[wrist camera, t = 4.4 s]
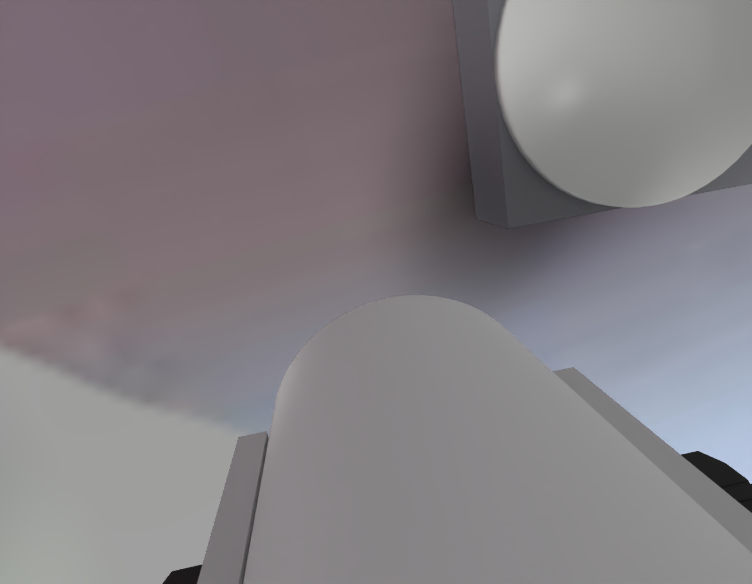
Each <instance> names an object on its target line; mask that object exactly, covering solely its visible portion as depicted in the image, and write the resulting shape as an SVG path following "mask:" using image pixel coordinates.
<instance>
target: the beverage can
mask: <svg viewBox="0 0 752 584" xmlns="http://www.w3.org/2000/svg"><path fill="white" fill-rule="evenodd" d="M243 584H752V553H751V552H750V551H749V550H748V549H747V548H746V547H745V546H744V545H742V544H741V543H740V542H739V541H738V540H737V539H736V538H735V537H734V536H733V535H731V534H730V533H729V532H728V531H727V530H726V529H725V528H724V527H723V526H722V525H720V524H719V523H718V522H717V521H716V520H715V519H714V518H713V517H712V516H711V515H709V514H708V513H707V512H706V511H705V510H704V509H703V508H702V507H701V506H700V505H699V504H697V503H696V502H695V501H694V500H693V499H692V498H691V497H690V496H689V495H688V494H686V493H685V492H684V491H683V490H682V489H681V488H680V487H679V486H678V485H677V484H675V483H674V482H673V481H672V480H671V479H670V478H669V477H668V476H667V475H666V474H664V473H663V472H662V471H661V470H660V469H659V468H658V467H657V466H656V465H655V464H654V463H652V462H651V461H650V460H649V459H648V458H647V457H646V456H645V455H644V454H643V453H641V452H640V451H639V450H638V449H637V448H636V447H635V446H634V445H633V444H632V443H630V442H629V441H628V440H627V439H626V438H625V437H624V436H623V435H622V434H621V433H619V432H618V431H617V430H616V429H615V428H614V427H613V426H612V425H611V424H610V423H609V422H607V421H606V420H605V419H604V418H603V417H602V416H601V415H600V414H599V413H598V412H596V411H595V410H594V409H593V408H592V407H591V406H590V405H589V404H588V403H587V402H585V401H584V400H583V399H582V398H581V397H580V396H579V395H578V394H577V393H576V392H575V391H573V390H572V389H571V388H570V387H569V386H568V385H567V384H566V383H565V382H564V381H562V380H561V379H560V378H559V377H558V376H557V375H556V374H555V373H554V372H553V371H551V370H550V369H549V368H548V367H547V366H546V365H545V364H544V363H543V362H542V361H540V360H539V359H538V358H537V357H536V356H535V355H534V354H533V353H532V352H531V351H530V350H528V349H527V348H526V347H525V346H524V345H523V344H522V343H521V342H520V341H519V340H517V339H516V338H515V337H514V336H513V335H512V334H511V333H510V332H509V331H508V330H506V329H505V328H504V327H503V326H502V325H501V324H499V323H498V322H497V321H496V320H494V319H493V318H491V317H490V316H489V315H487V314H485V313H484V312H482V311H480V310H478V309H476V308H474V307H472V306H470V305H467V304H465V303H462V302H459V301H456V300H452V299H448V298H443V297H437V296H428V295H405V296H396V297H390V298H385V299H381V300H377V301H374V302H370V303H367V304H365V305H362V306H360V307H357V308H355V309H353V310H351V311H349V312H347V313H345V314H343V315H341V316H339V317H338V318H336V319H335V320H333V321H332V322H330V323H329V324H327V325H326V326H325V327H323V328H322V329H321V330H320V331H319V332H317V333H316V334H315V335H314V336H313V337H312V338H311V339H310V340H309V341H308V342H307V343H306V344H305V345H304V347H303V348H302V349H301V350H300V351H299V353H298V354H297V355H296V357H295V358H294V360H293V361H292V363H291V364H290V366H289V368H288V370H287V372H286V374H285V376H284V378H283V380H282V382H281V385H280V388H279V391H278V394H277V398H276V402H275V406H274V412H273V417H272V423H271V429H270V434H269V440H268V445H267V451H266V457H265V462H264V468H263V474H262V479H261V485H260V491H259V496H258V502H257V508H256V513H255V519H254V525H253V530H252V536H251V542H250V547H249V553H248V559H247V564H246V570H245V576H244V581H243Z"/></svg>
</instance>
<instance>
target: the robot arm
mask: <svg viewBox="0 0 752 584" xmlns="http://www.w3.org/2000/svg"><path fill="white" fill-rule="evenodd" d="M553 372H554V373H555V374H556V375H557V376H558V377H559V378H560V379H561V380H562V381H564V382H565V383H566V384H567V385H568V386H569V387H570V388H571V389H572V390H573V391H575V392H576V393H577V394H578V395H579V396H580V397H581V398H582V399H583V400H584V401H585V402H587V403H588V404H589V405H590V406H591V407H592V408H593V409H594V410H595V411H596V412H598V413H599V414H600V415H601V416H602V417H603V418H604V419H605V420H606V421H607V422H609V423H610V424H611V425H612V426H613V427H614V428H615V429H616V430H617V431H618V432H619V433H621V434H622V435H623V436H624V437H625V438H626V439H627V440H628V441H629V442H630V443H632V444H633V445H634V446H635V447H636V448H637V449H638V450H639V451H640V452H641V453H643V454H644V455H645V456H646V457H647V458H648V459H649V460H650V461H651V462H652V463H654V464H655V465H656V466H657V467H658V468H659V469H660V470H661V471H662V472H663V473H664V474H666V475H667V476H668V477H669V478H670V479H671V480H672V481H673V482H674V483H675V484H677V485H678V486H679V487H680V488H681V489H682V490H683V491H684V492H685V493H686V494H688V495H689V496H690V497H691V498H692V499H693V500H694V501H695V502H696V503H697V504H699V505H700V506H701V507H702V508H703V509H704V510H705V511H706V512H707V513H708V514H709V515H711V516H712V517H713V518H714V519H715V520H716V521H717V522H718V523H719V524H720V525H722V526H723V527H724V528H725V529H726V530H727V531H728V532H729V533H730V534H731V535H733V536H734V537H735V538H736V539H737V540H738V541H739V542H740V543H741V544H742V545H744V546H745V547H746V548H747V549H748V550H749V551H750V552H751V553H752V484H750V483H749V481H748V480H747V479H746V478H745V477H743V476H742V475H741V474H739V473H738V472H737V471H735V470H734V469H733V468H731V467H730V466H729V465H727V464H726V463H724V462H722V461H719V460H717V459H715V458H713V457H710V456H708V455H706V454H704V453H701V452H699V451H696V452H691V453H687V454H682V455H680V454H679V453H678V452H676V451H675V450H674V449H673V448H672V447H670V446H669V445H668V444H667V443H665V442H664V441H663V440H662V439H661V438H659V437H658V436H657V435H656V434H654V433H653V432H652V431H651V430H650V429H648V428H647V427H646V426H645V425H643V424H642V423H641V422H640V421H639V420H637V419H636V418H635V417H634V416H632V415H631V414H630V413H629V412H628V411H626V410H625V409H624V408H623V407H621V406H620V405H619V404H618V403H617V402H615V401H614V400H613V399H612V398H610V397H609V396H608V395H607V394H606V393H604V392H603V391H602V390H601V389H599V388H598V387H597V386H596V385H595V384H593V383H592V382H591V381H590V380H588V379H587V378H586V377H585V376H584V375H582V374H581V373H580V372H579V371H577V370H576V369H575V368H574V367H572V368H567V369H563V370H558V371H553ZM268 440H269V438H268V434H267V431H266V432H261V433H256V434H252V435H247V436H242V437H239V438H238V441H237V445H236V448H235V452H234V455H233V459H232V463H231V466H230V469H229V473H228V476H227V480H226V483H225V487H224V491H223V494H222V498H221V501H220V505H219V508H218V512H217V515H216V519H215V522H214V526H213V529H212V533H211V536H210V540H209V543H208V547H207V551H206V554H205V557H204V561H203V564H202V565H198V566H194V567H189V568H185V569H180V570H176V571H172V572H171V573H170V575H169V576H168V577H167V579H166V580H165V581H164V583H163V584H243V581H244V576H245V570H246V564H247V559H248V553H249V547H250V542H251V536H252V530H253V525H254V519H255V513H256V508H257V502H258V496H259V491H260V485H261V479H262V474H263V468H264V462H265V457H266V451H267V445H268Z"/></svg>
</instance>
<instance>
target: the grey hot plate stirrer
mask: <svg viewBox="0 0 752 584" xmlns="http://www.w3.org/2000/svg"><path fill="white" fill-rule="evenodd" d="M452 3H453V12H454V21H455V30H456V39H457V48H458V57H459V67H460V76H461V85H462V94H463V103H464V112H465V121H466V130H467V139H468V148H469V157H470V166H471V175H472V185H473V194H474V203H475V212H476V219H478V220H481V221H485V222H488V223H491V224H495V225H498V226H501V227H504V228H508V229H510V228H515V227H521V226H526V225H531V224H537V223H542V222H547V221H553V220H558V219H564V218H569V217H574V216H580V215H585V214H590V213H596V212H601V211H607V210H612V209H617V208H623V207H646V206H654V205H658V204H662V203H666V202H670V201H673V200H676V199H679V198H681V197H684V196H687V195H693V194H698V193H703V192H709V191H714V190H720V189H725V188H730V187H736V186H741V185H747V184H752V0H452Z"/></svg>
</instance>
